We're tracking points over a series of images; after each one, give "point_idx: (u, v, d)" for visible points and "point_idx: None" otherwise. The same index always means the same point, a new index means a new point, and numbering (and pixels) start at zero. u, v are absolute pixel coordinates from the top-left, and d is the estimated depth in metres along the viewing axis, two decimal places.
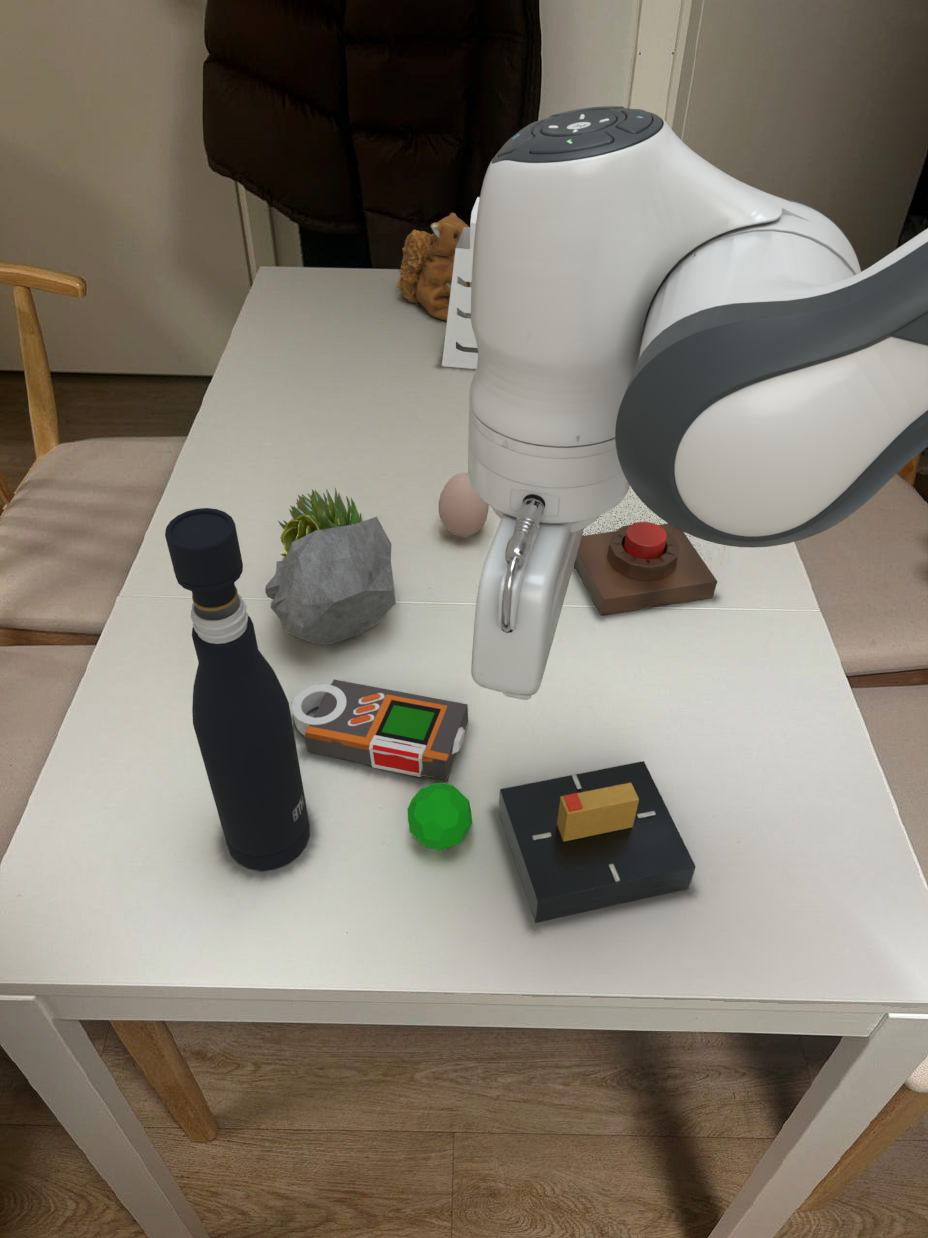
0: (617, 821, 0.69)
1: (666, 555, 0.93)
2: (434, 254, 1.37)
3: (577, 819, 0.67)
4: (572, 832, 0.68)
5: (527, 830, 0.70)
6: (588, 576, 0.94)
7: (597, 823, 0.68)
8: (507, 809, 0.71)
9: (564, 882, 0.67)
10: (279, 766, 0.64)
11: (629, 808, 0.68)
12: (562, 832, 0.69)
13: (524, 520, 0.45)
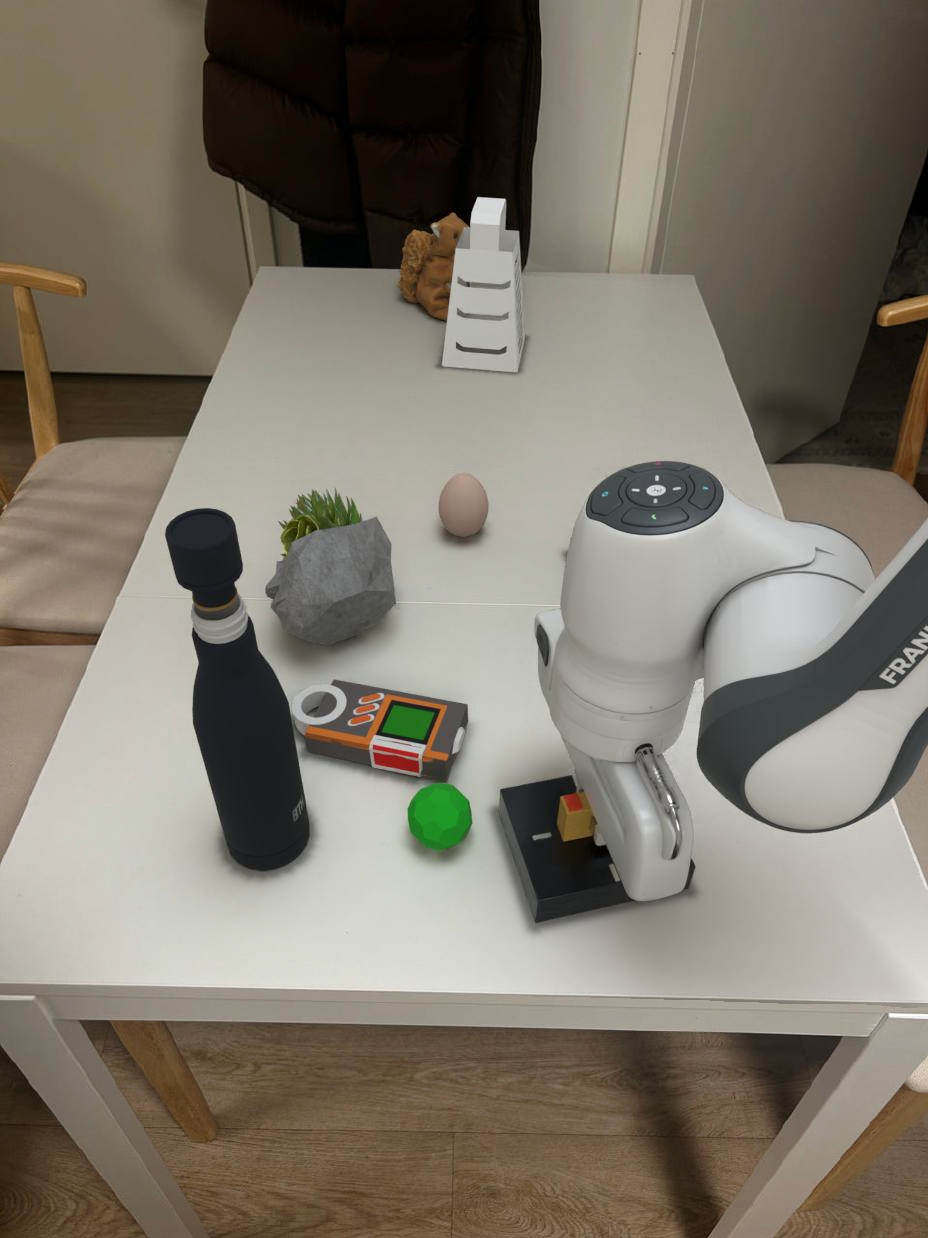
0: None
1: None
2: (434, 254, 1.37)
3: (577, 819, 0.67)
4: (572, 832, 0.68)
5: (527, 830, 0.70)
6: None
7: None
8: (507, 809, 0.71)
9: (564, 882, 0.67)
10: (279, 766, 0.64)
11: None
12: (562, 832, 0.69)
13: (656, 771, 0.56)
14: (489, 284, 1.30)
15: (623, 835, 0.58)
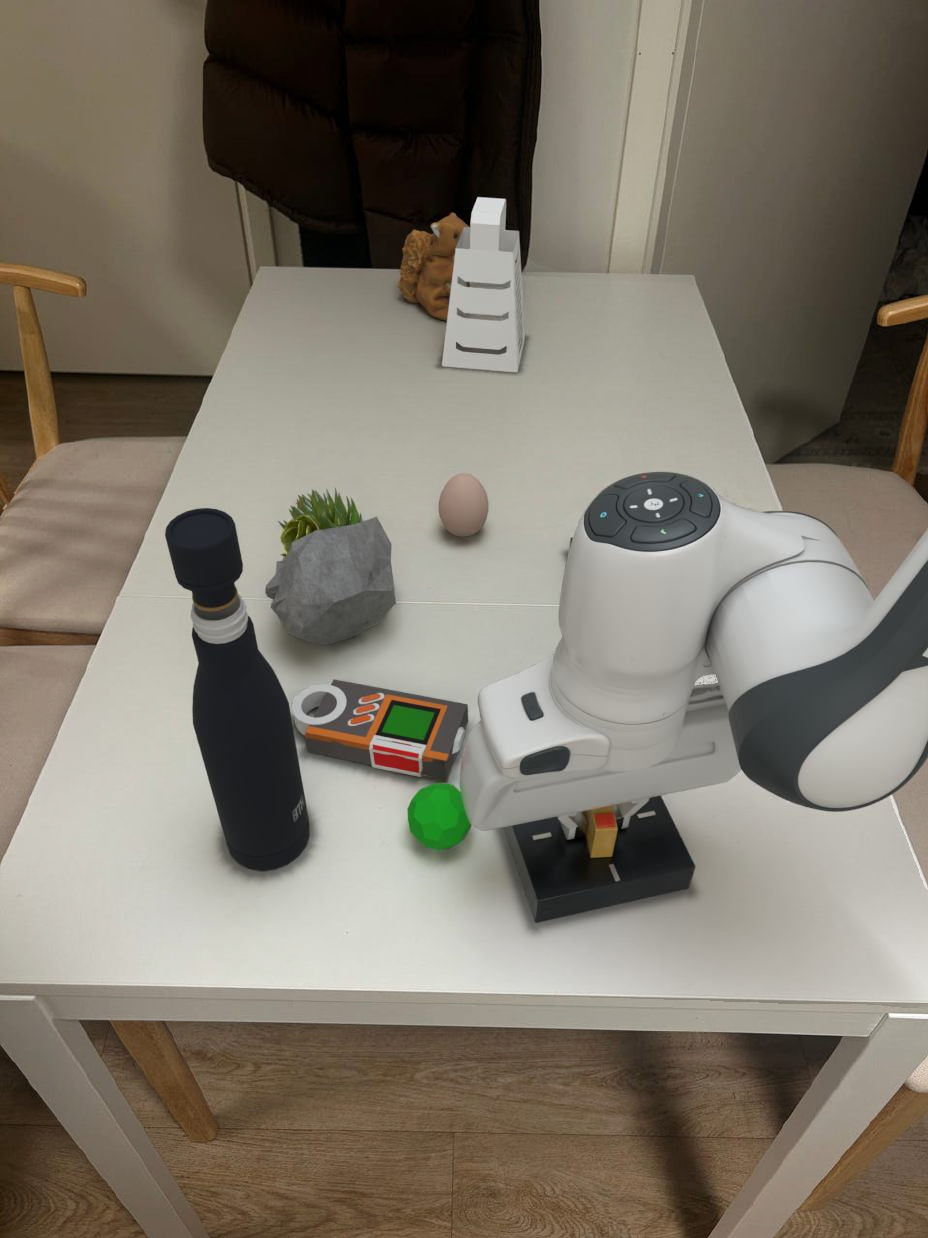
0: None
1: None
2: (434, 254, 1.37)
3: None
4: None
5: (527, 830, 0.70)
6: None
7: None
8: None
9: (564, 882, 0.67)
10: (279, 766, 0.64)
11: None
12: (608, 851, 0.68)
13: (707, 688, 0.62)
14: (489, 284, 1.30)
15: (712, 753, 0.64)
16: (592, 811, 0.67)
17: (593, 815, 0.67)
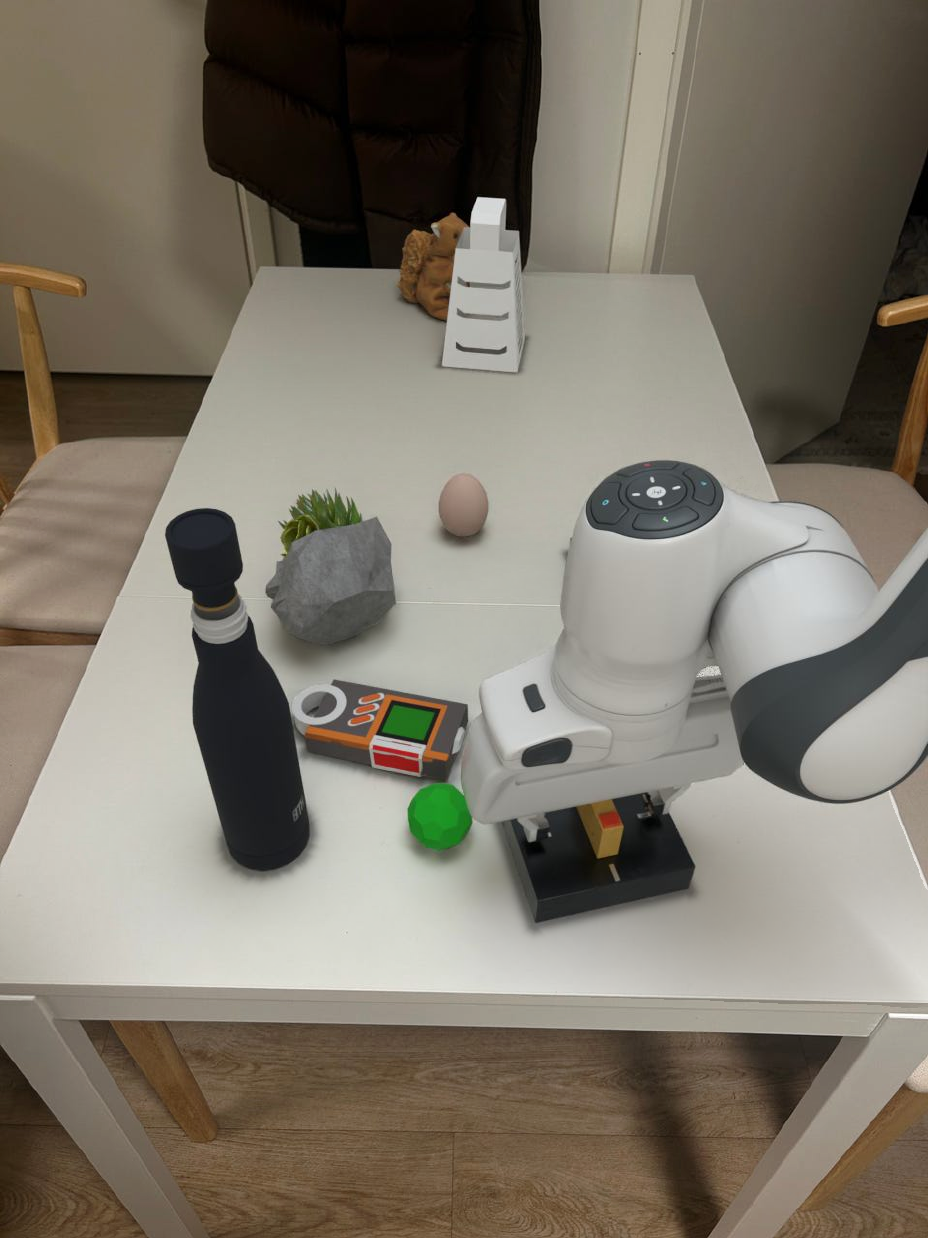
0: None
1: None
2: (435, 254, 1.37)
3: None
4: None
5: None
6: None
7: None
8: None
9: (564, 882, 0.67)
10: (279, 766, 0.64)
11: None
12: (614, 850, 0.68)
13: (710, 679, 0.61)
14: (489, 284, 1.30)
15: (715, 746, 0.64)
16: (595, 812, 0.67)
17: (597, 816, 0.67)
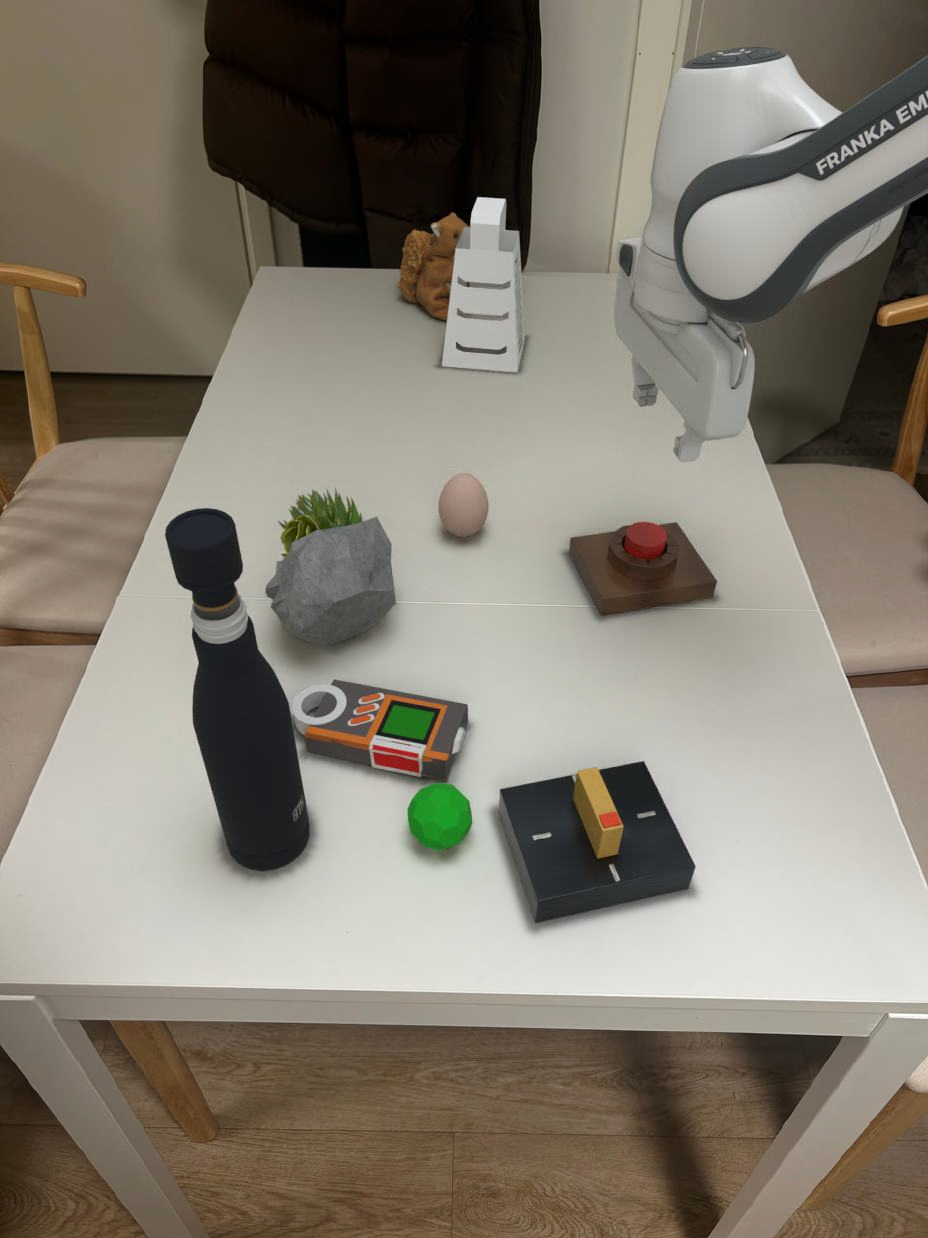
0: None
1: (666, 555, 0.93)
2: (434, 254, 1.37)
3: None
4: None
5: (527, 830, 0.70)
6: (588, 576, 0.94)
7: None
8: (507, 809, 0.71)
9: (564, 882, 0.67)
10: (279, 766, 0.64)
11: None
12: (614, 850, 0.68)
13: None
14: (489, 284, 1.30)
15: (696, 382, 0.73)
16: (595, 812, 0.67)
17: (597, 816, 0.67)
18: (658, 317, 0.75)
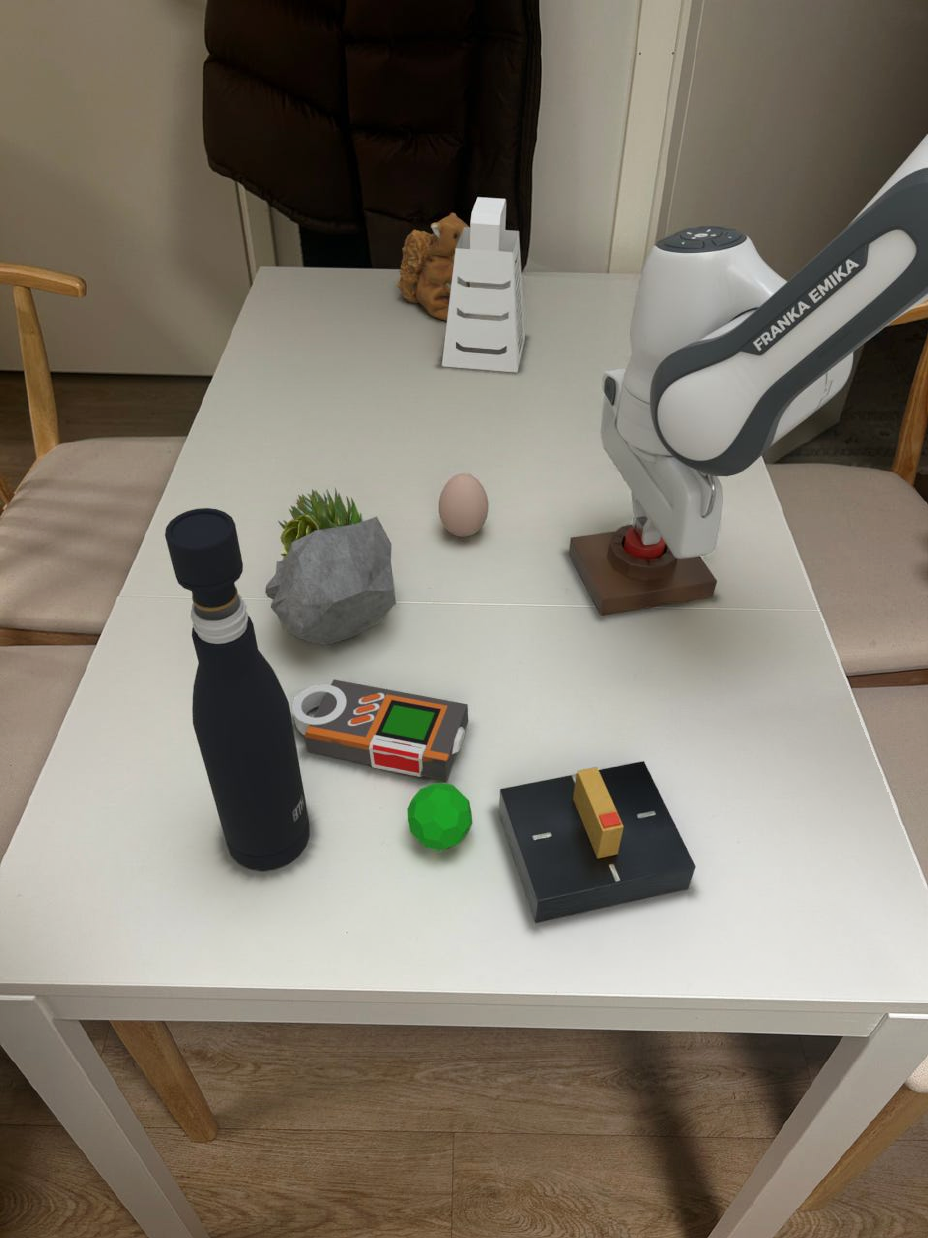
0: None
1: (666, 555, 0.93)
2: (435, 254, 1.37)
3: None
4: None
5: (527, 830, 0.70)
6: (588, 576, 0.94)
7: None
8: (507, 809, 0.71)
9: (564, 882, 0.67)
10: (279, 766, 0.64)
11: None
12: (614, 850, 0.68)
13: None
14: (489, 284, 1.30)
15: (672, 508, 0.82)
16: (595, 812, 0.67)
17: (597, 816, 0.67)
18: (638, 447, 0.84)
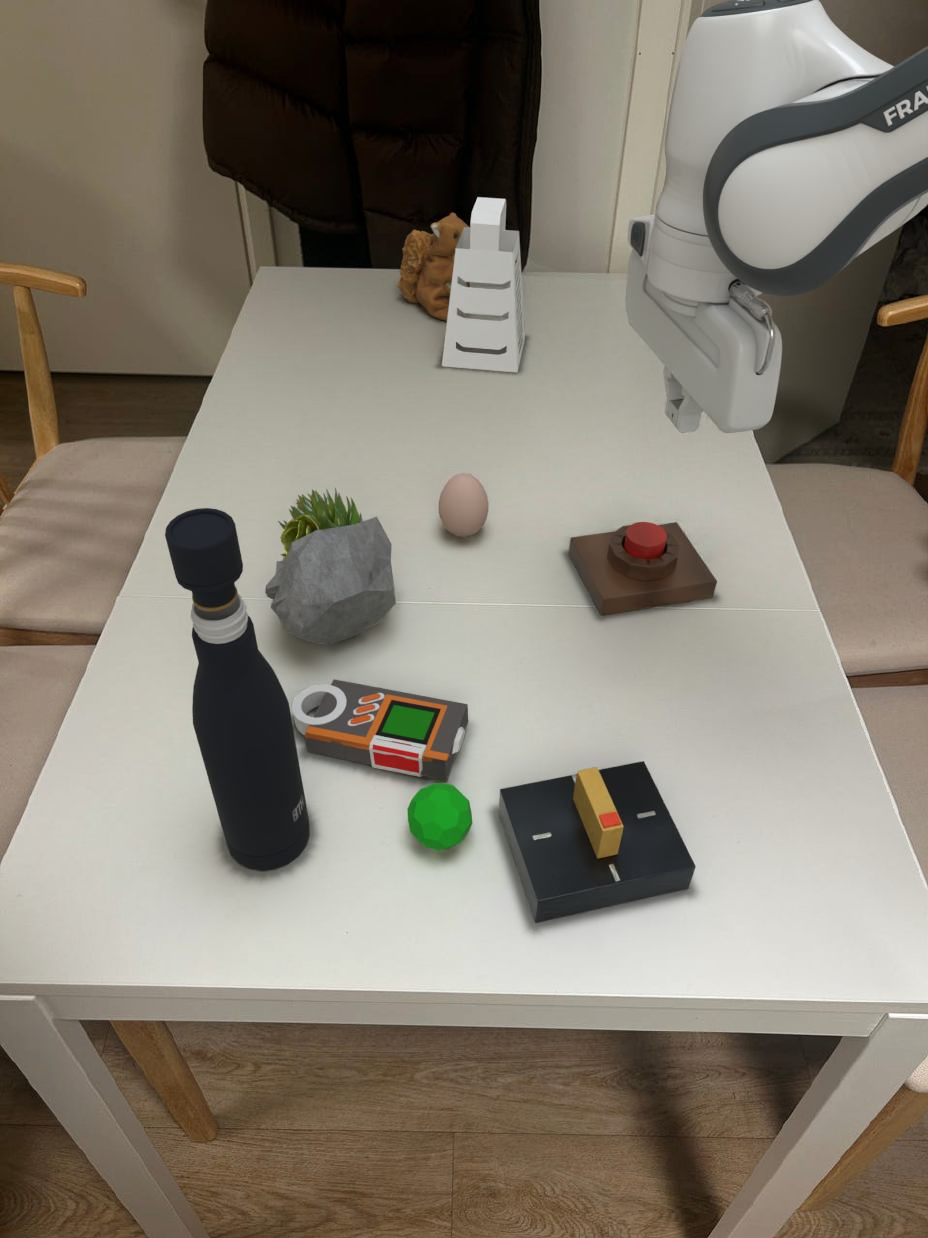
0: None
1: (666, 555, 0.93)
2: (434, 254, 1.37)
3: None
4: None
5: (527, 830, 0.70)
6: (588, 576, 0.94)
7: None
8: (507, 809, 0.71)
9: (564, 882, 0.67)
10: (279, 766, 0.64)
11: None
12: (614, 850, 0.68)
13: (749, 292, 0.64)
14: (489, 284, 1.30)
15: (717, 368, 0.66)
16: (595, 812, 0.67)
17: (597, 816, 0.67)
18: (674, 299, 0.68)
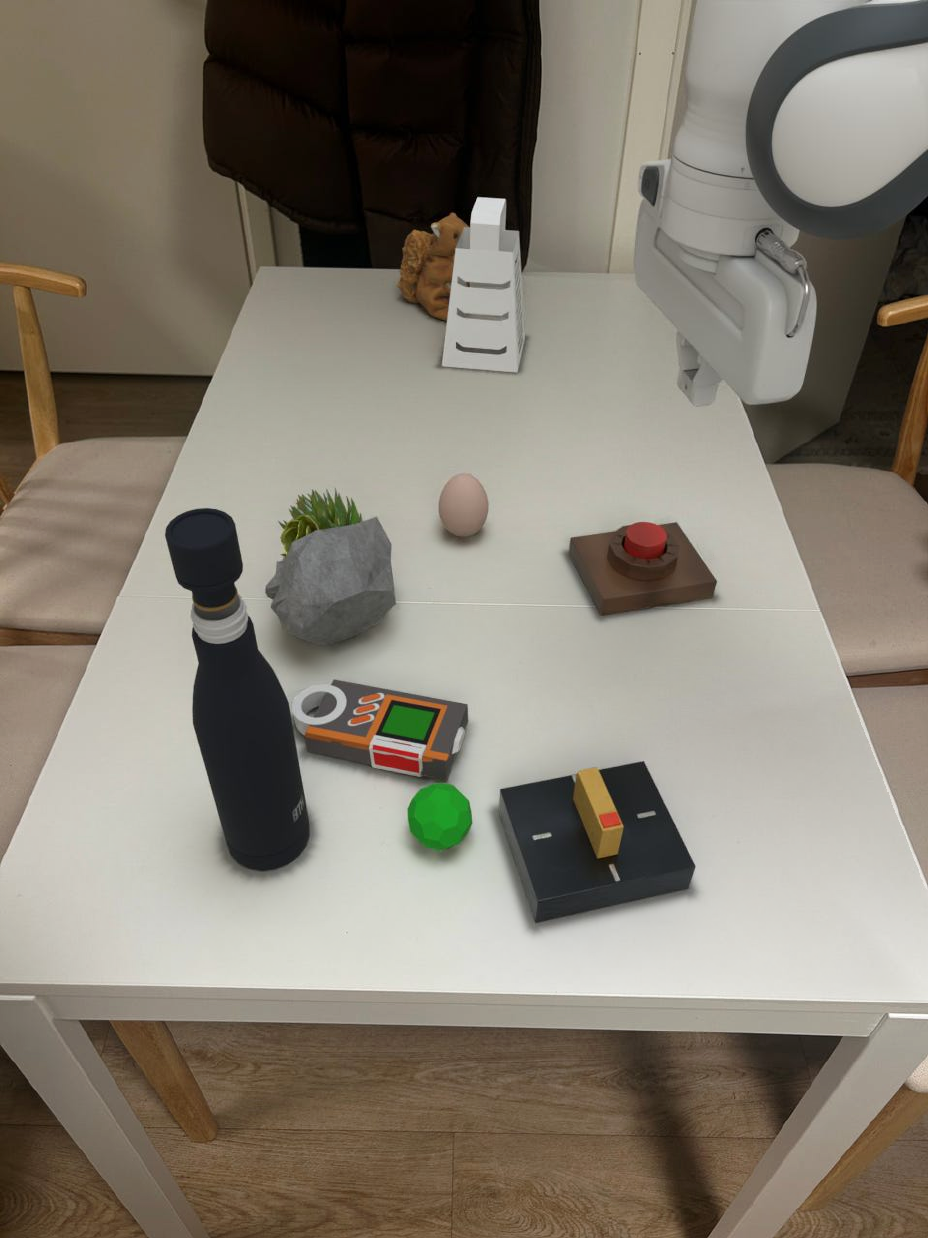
0: None
1: (666, 555, 0.93)
2: (435, 254, 1.37)
3: None
4: None
5: (527, 830, 0.70)
6: (588, 576, 0.94)
7: None
8: (507, 809, 0.71)
9: (564, 882, 0.67)
10: (279, 766, 0.64)
11: None
12: (614, 850, 0.68)
13: (780, 243, 0.56)
14: (489, 284, 1.30)
15: (741, 330, 0.58)
16: (595, 812, 0.67)
17: (597, 816, 0.67)
18: (692, 252, 0.60)
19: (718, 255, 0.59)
